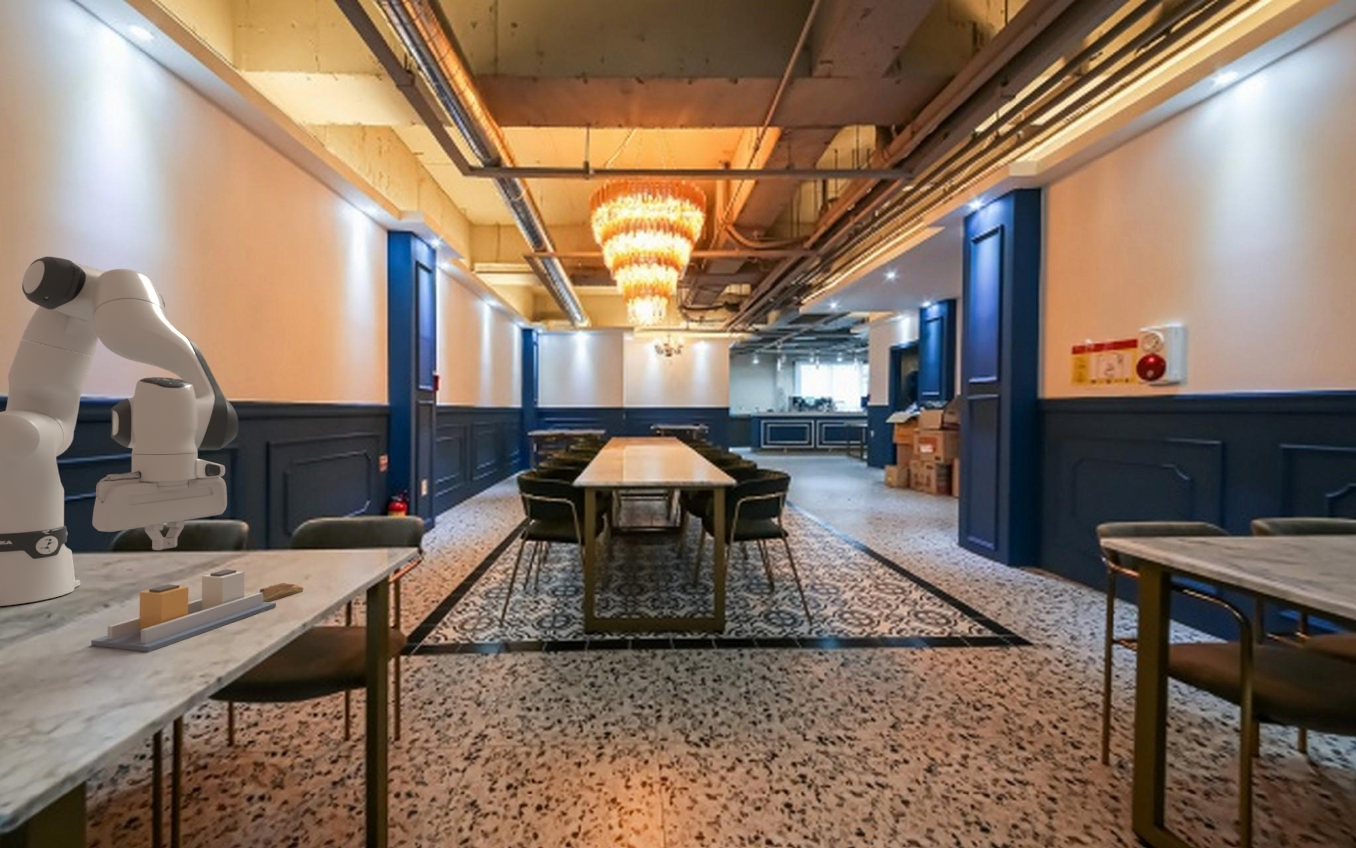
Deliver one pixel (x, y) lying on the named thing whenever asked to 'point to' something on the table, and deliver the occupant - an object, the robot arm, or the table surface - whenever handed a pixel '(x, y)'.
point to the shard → (279, 591)
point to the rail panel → (191, 615)
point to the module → (162, 605)
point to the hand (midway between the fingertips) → (164, 548)
